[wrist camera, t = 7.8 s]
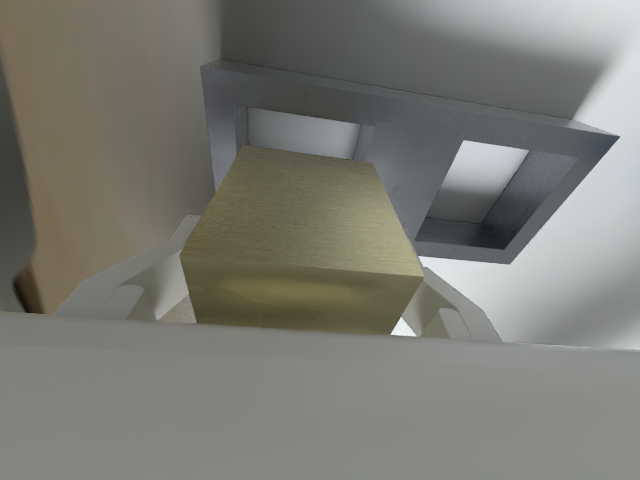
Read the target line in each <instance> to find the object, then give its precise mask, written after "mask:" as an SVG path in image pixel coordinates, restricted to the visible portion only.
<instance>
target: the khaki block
mask: <svg viewBox="0 0 640 480" xmlns="http://www.w3.org/2000/svg"><path fill="white" fill-rule="evenodd" d="M179 258H180V261H181V265H182V269H183V273H184V276H185V280H186V284H187V288H188V291H189V295H190V299H191V303H192V306H193V310H194V314H195V318H196V321H197V323H199V324H215V325H232V326H249V327H265V328H282V329H298V330H315V331H332V332H348V333H365V334H382V335H390V334H391V332H392V331H393V329H394V327H395V326H396V324H397V322H398V321H399V319H400V317H401V316H402V314H403V312H404V311H405V309H406V307H407V306H408V304H409V302H410V301H411V299H412V297H413V296H414V294H415V292H416V291H417V289H418V288H419V286H420V284H421V283H422V281H423V279H424V278H425V276H424V274H423V271H422V269H421V267H420V265H419V263H418V261H417V258H416V256H415V254H414V252H413V250H412V247H411V245H410V243H409V241H408V239H407V237H406V234H405V232H404V230H403V228H402V226H401V223H400V221H399V219H398V217H397V215H396V213H395V210H394V208H393V206H392V204H391V202H390V199H389V197H388V195H387V193H386V191H385V189H384V186H383V184H382V182H381V180H380V178H379V175H378V173H377V171H376V169H375V167H374V165H373V163H369V162H362V161H355V160H348V159H341V158H333V157H326V156H319V155H312V154H304V153H297V152H290V151H283V150H276V149H268V148H261V147H254V146H247V145H243V146H242V147H241V149H240V151H239V152H238V154H237V156H236V158H235V159H234V161H233V163H232V165H231V166H230V168H229V170H228V171H227V173H226V175H225V177H224V178H223V180H222V182H221V184H220V185H219V187H218V189H217V190H216V192H215V194H214V196H213V197H212V199H211V201H210V203H209V204H208V206H207V208H206V209H205V211H204V213H203V215H202V216H201V218H200V220H199V222H198V223H197V225H196V227H195V229H194V230H193V232H192V234H191V235H190V237H189V239H188V241H187V242H186V244H185V246H184V248H183V249H182V251H181V253H180V254H179Z"/></svg>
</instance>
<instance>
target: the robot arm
mask: <svg viewBox="0 0 640 480" xmlns="http://www.w3.org/2000/svg"><path fill="white" fill-rule="evenodd" d="M200 218H201V216H200V215H191V214H188V215H186V216H185V217H184V219H183V220H182V222H181V223H180V224H179V226H178V227H177V229H176V230H175V232H174V233H173V235H172V236H171V238H170V239H169V241H168V242H167V243H160V244H158V245H156V246H154V247H152V248H150V249H148V250H146V251H144V252H142V253H139V254H137V255H135V256H133V257H131V258H129V259H127V260H125V261H123V262H121V263H119V264H117V265H115V266H112V267H110V268H108V269H106V270H104V271H102V272H100V273H98V274H96V275H94V276H92V277H90V278H87V279H85V280H84V281H83V282H82V283H81V284H80V285H79V286H78V287H77V288H76V290H75V291H74V292H73V293H72V294H71V295H70V296H69V297H68V298H67V299H66V301H65V302H64V303H63V304H62V305H61V306H60V307H59V308H58V309H57V310H56V312H55V313H54V314H53V315H48V314H31V313H15V312H0V480H640V350H632V349H615V348H598V347H581V346H565V345H548V344H531V343H514V342H502V340H501V339H500V337H499V335H498V334H497V332H496V331H495V329H494V327H493V326H492V324H491V322H490V321H489V319H488V317H487V316H486V314H485V312H484V311H483V310H482V309H481V308H479V307H478V306H477V305H476V304H474V303H473V302H472V301H470V300H469V299H468V298H466V297H465V296H464V295H462V294H461V293H460V292H459V291H457V290H456V289H455V288H453V287H452V286H451V285H449V284H448V283H447V282H446V281H444V280H443V279H442V278H440V277H439V276H438V275H436V274H435V273H434V272H432V271H431V270H430V269H429V268H427V267H423V266H422V264H421V262H420V259H419V257H418V255H417V253H416V251H415V249H414V247H413V245H412V243H411V241H410V239H409V238H408V237H407V239H408V241H409V243H410V245H411V247H412V250H413V252H414V254H415V256H416V258H417V261H418V263H419V265H420V267H421V269H422V271H423V274H424V276H425V278H424V279H423V281H422V283H421V284H420V286H419V288H418V289H417V291H416V292H415V294H414V296H413V297H412V299H411V301H410V302H409V304H408V306H407V307H406V309H405V311H404V312H403V314H402V316H401V317H402V318H403V320H404V321H405V322H406V323H407V324H408V326H409V327H410V328H411V329H412V330H413V332H414V333H415V334H416V335H417V336H418V337H415V336H399V335H382V334H365V333H348V332H332V331H315V330H298V329H282V328H265V327H249V326H232V325H215V324H199V323H182V322H165V321H157V320H158V319H159V318H161V317H162V316H163V315H164V314H165V313H167V312H168V311H169V310H170V309H171V308H173V307H174V306H175V305H176V304H177V303H179V302H180V301H181V300H182V299H183V298H184V297H186V296H187V295H188V294H189V291H188V288H187V284H186V280H185V276H184V273H183V269H182V265H181V261H180V258H179V254H180V253H181V251H182V249H183V248H184V246H185V244H186V242H187V241H188V239H189V237H190V235H191V234H192V232H193V230H194V229H195V227H196V225H197V223H198V222H199V220H200Z"/></svg>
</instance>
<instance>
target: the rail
mask: <svg viewBox="0 0 640 480" xmlns="http://www.w3.org/2000/svg"><path fill="white" fill-rule="evenodd" d="M200 69H201V77H202V86H203V94H204V102H205V110H206V119H207V127H208V135H209V143H210V151H211V160H212V168H213V176H214V184H215V192H216V190H217V189H218V187H219V185H220V184H221V182H222V180H223V178H224V177H225V175H226V173H227V171H228V170H229V168H230V166H231V165H232V163H233V161H234V159H235V158H236V156H237V154H238V152H239V151H240V149H241V147H242V146H243V145H247V146H248V121H247V107H251V108H258V109H265V110H271V111H278V112H284V113H291V114H297V115H304V116H310V117H317V118H323V119H330V120H337V121H343V122H350V123H356V124H362V125H361V129H360V133H359V138H358V142H357V146H356V150H355V154H354V159H353V160H355V161H362V162H369V163H373V165H374V167H375V169H376V171H377V173H378V175H379V178H380V180H381V182H382V184H383V186H384V189H385V191H386V193H387V195H388V197H389V199H390V202H391V204H392V206H393V208H394V210H395V213H396V215H397V217H398V219H399V221H400V223H401V226H402V228H403V230H404V232H405V234H406V237H408V238H409V239H410V241H411V243H412V245H413V247H414V249H415V251H416V253H417V255H418V256H425V257H436V258H446V259H457V260H468V261H478V262H489V263H499V264H511V262H512V261H513V260H514V259H515V258H516V257H517V255H518V254H519V253H520V252H521V251H522V250H523V248H524V247H525V246H526V245H527V244H528V243H529V242H530V240H531V239H532V238H533V237H534V236H535V235H536V233H537V232H538V231H539V230H540V229H541V228H542V227H543V225H544V224H545V223H546V222H547V221H548V220H549V218H550V217H551V216H552V215H553V214H554V213H555V211H556V210H557V209H558V208H559V207H560V206H561V205H562V203H563V202H564V201H565V200H566V199H567V198H568V196H569V195H570V194H571V193H572V192H573V191H574V190H575V188H576V187H577V186H578V185H579V184H580V183H581V181H582V180H583V179H584V178H585V177H586V176H587V175H588V173H589V172H590V171H591V170H592V169H593V168H594V166H595V165H596V164H597V163H598V162H599V161H600V159H601V158H602V157H603V156H604V155H605V154H606V153H607V151H608V150H609V149H610V148H611V147H612V146H613V144H614V143H615V142H616V141H617V140H618V139H619V138H620V136H617V135H615V134H612V133H609V132H606V131H603V130H600V129H598V128H595V127H592V126H589V125H586V124H583V123H580V122H578V121H575V120H571V119H565V118H559V117H554V116H548V115H542V114H536V113H530V112H524V111H519V110H513V109H507V108H501V107H495V106H489V105H484V104H478V103H472V102H466V101H460V100H455V99H449V98H443V97H437V96H431V95H425V94H420V93H414V92H408V91H402V90H396V89H390V88H385V87H379V86H373V85H367V84H361V83H356V82H350V81H344V80H338V79H332V78H326V77H321V76H315V75H309V74H303V73H297V72H291V71H286V70H280V69H274V68H268V67H262V66H256V65H251V64H245V63H239V62H233V61H227V60H222V59H219V60H217V61H214V62H211V63H208V64H205V65H202V66H200ZM463 140H467V141H474V142H481V143H487V144H494V145H500V146H507V147H513V148H520V149H526V150H531V151H530V153H529V154H528V156H527V157H526V159H525V160H524V162H523V163H522V165H521V166H520V168H519V169H518V171H517V172H516V174H515V175H514V177H513V178H512V180H511V181H510V183H509V184H508V186H507V187H506V189H505V190H504V192H503V193H502V194H501V196H500V197H499V199H498V200H497V202H496V203H495V205H494V206H493V208H492V209H491V211H490V212H489V214H488V215H487V217H486V218H485V220H484V221H483V223H482V224H478V223H469V222H460V221H451V220H442V219H433V218H425V217H426V215H427V213H428V211H429V209H430V207H431V205H432V203H433V201H434V199H435V197H436V195H437V193H438V191H439V189H440V187H441V184H442V182H443V180H444V178H445V176H446V174H447V172H448V170H449V168H450V166H451V164H452V162H453V160H454V158H455V156H456V154H457V152H458V150H459V148H460V146H461V144H462V142H463Z"/></svg>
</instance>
